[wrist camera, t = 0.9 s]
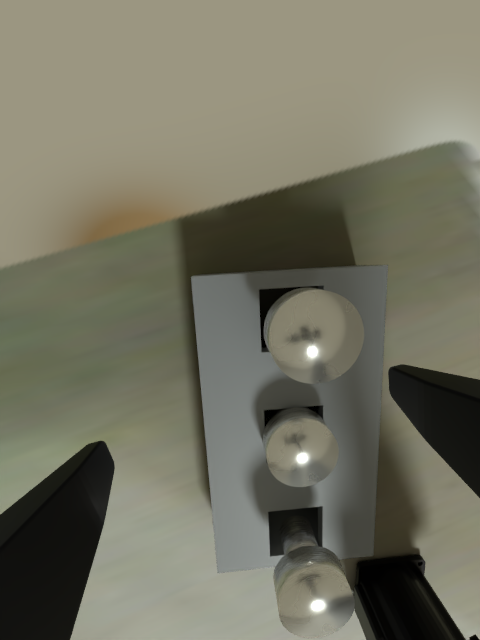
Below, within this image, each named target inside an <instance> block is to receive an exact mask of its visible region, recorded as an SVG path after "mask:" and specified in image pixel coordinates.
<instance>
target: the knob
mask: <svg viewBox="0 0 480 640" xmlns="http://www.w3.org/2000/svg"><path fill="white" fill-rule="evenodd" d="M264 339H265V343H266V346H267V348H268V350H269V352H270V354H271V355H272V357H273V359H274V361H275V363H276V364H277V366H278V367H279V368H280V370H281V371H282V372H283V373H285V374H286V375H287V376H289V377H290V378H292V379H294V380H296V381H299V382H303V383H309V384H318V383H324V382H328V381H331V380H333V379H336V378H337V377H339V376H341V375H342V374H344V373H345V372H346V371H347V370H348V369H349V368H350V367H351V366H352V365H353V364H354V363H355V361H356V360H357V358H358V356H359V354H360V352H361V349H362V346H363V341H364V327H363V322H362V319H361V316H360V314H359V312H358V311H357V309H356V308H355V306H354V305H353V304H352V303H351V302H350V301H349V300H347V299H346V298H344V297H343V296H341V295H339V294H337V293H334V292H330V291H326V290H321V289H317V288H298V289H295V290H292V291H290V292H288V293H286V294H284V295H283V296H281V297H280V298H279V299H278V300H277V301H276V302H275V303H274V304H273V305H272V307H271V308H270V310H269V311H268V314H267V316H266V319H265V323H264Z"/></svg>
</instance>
